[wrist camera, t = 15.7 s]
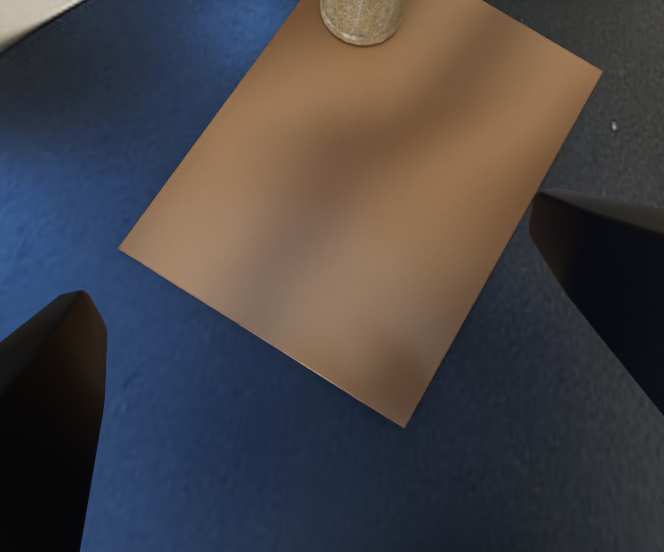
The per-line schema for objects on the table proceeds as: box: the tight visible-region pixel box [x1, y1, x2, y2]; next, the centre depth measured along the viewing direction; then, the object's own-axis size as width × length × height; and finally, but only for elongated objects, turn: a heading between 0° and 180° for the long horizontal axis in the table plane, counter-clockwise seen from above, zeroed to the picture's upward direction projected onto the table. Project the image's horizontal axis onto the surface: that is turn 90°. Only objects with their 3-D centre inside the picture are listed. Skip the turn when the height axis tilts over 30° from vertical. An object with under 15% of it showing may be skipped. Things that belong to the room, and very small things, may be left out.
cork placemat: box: [118, 0, 603, 428], centre depth 24 cm, size 16×22×1 cm
